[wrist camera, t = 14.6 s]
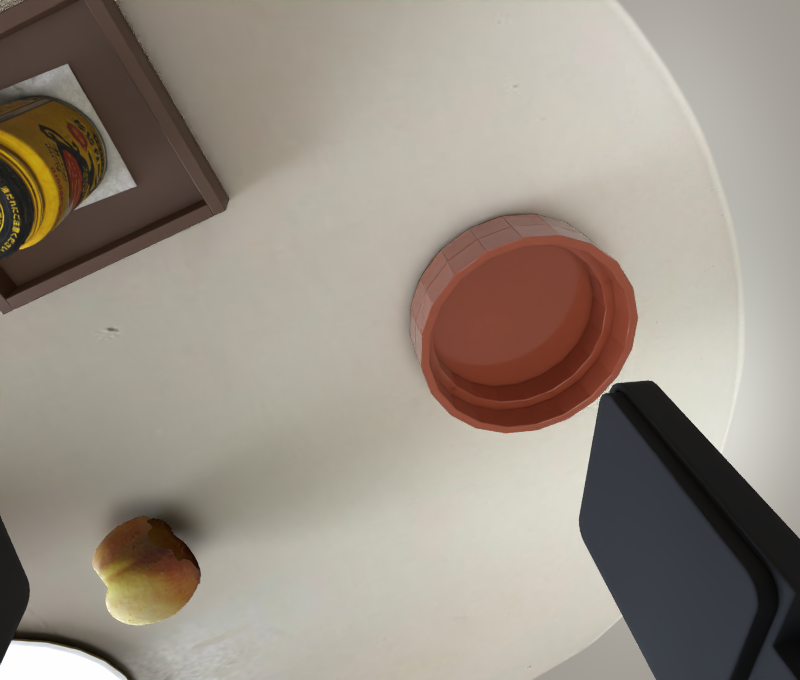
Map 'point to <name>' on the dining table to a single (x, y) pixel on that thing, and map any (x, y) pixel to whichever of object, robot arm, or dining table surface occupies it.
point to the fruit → (145, 571)
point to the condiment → (51, 157)
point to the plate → (54, 663)
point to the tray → (130, 133)
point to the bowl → (521, 323)
